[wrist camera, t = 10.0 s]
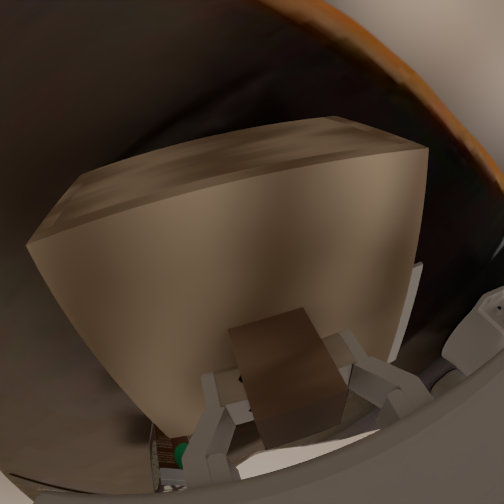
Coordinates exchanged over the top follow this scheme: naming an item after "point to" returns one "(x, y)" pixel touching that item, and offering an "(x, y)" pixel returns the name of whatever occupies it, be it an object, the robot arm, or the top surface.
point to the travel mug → (446, 383)
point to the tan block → (240, 266)
